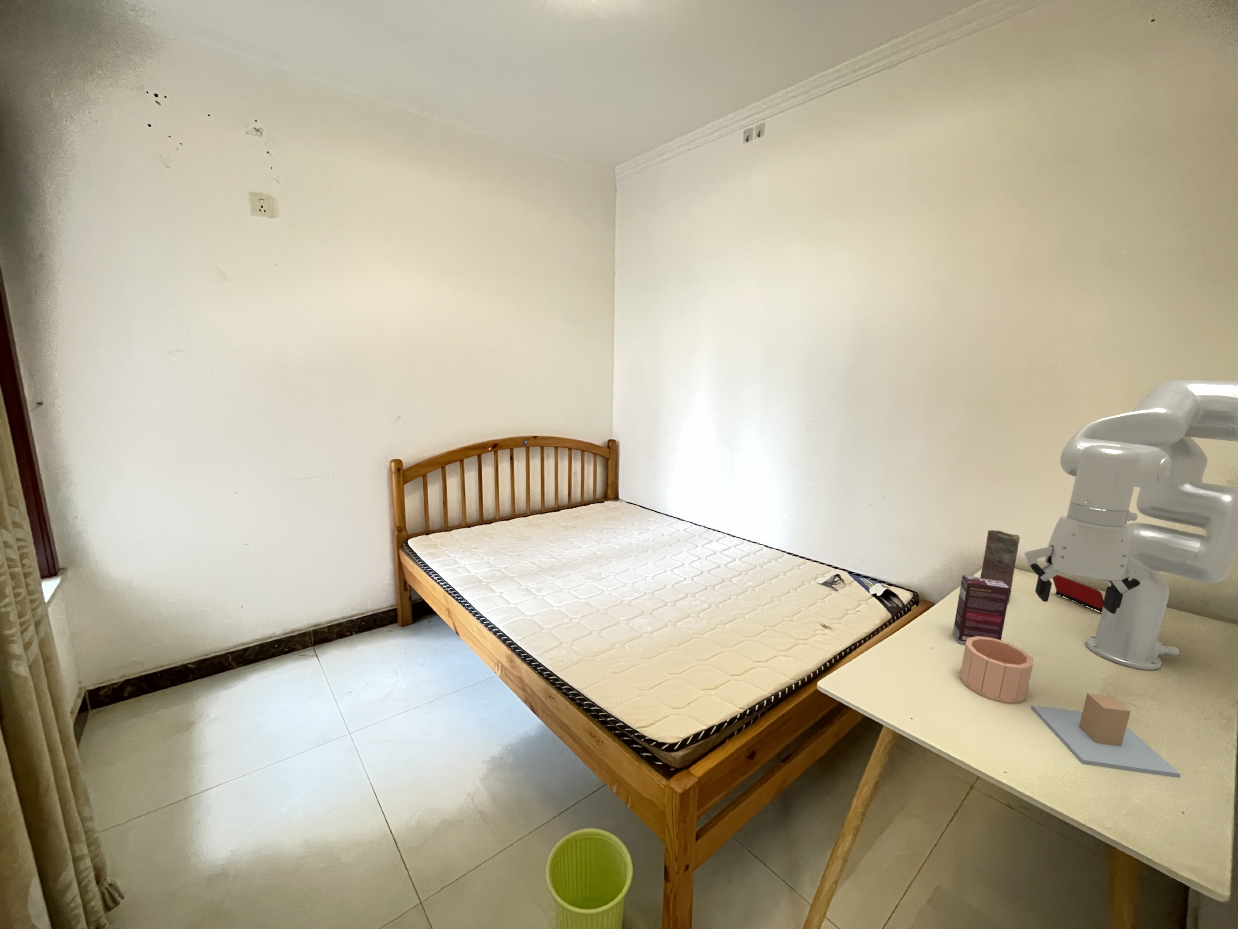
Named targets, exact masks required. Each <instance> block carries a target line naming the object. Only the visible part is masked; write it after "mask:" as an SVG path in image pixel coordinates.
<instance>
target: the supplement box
mask: <svg viewBox="0 0 1238 929" xmlns="http://www.w3.org/2000/svg"><path fill="white" fill-rule="evenodd" d="M961 576H962V578H961V583H960V588H959V595H958V600H957V606H956V612H955V616H954V618H955V619H954V623H953V630H952V636H953V638H955V640H956V642H957V643H958V644H960V645H964V646H965V645H966V641H967V639H968V638H971V637H976V636H980V637H989V638H994V639H998V640H1001V641H1002V636H1003V631H1004V628H1005V627H1004V626H1005V622H1006V621H1005V620H1006V614H1007V610H1008V604H1009V601H1008V599H1009V594H1010V587H1009V586H1008V585H1007V584H1006V583H1005V582H1004V581H1002V580H995V579H988V578H980V577H981V576H980V577H979V576H972V575H965V574H963V575H961ZM1010 595H1011V594H1010Z"/></svg>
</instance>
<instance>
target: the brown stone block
mask: <svg viewBox="0 0 1238 929" xmlns="http://www.w3.org/2000/svg"><path fill="white" fill-rule="evenodd" d="M1020 538H1021V537H1020V536H1019V534H1012V533H1008V532H1004V531H1002V530H993V529H990V530H987V537H986V543H985V550H984V555H983V560H982V561H983V562H982V566H981V571H980V572H981V573H980V578H988V579H995V580H1002V581H1004V582H1005V583H1006V584H1007V585H1008V586H1009V587H1010V594H1009V599H1008V602H1010V600H1011V599H1010V598H1011V593H1012V586H1013V580H1014V574H1015V568H1016V567H1015V566H1016V563H1017V562H1016V561H1017V555H1018V550H1019V545H1020Z"/></svg>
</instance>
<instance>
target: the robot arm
mask: <svg viewBox="0 0 1238 929" xmlns="http://www.w3.org/2000/svg"><path fill="white" fill-rule="evenodd" d="M1193 438H1197V439H1209V440H1216V441H1217V440H1218V441H1228V442H1237V443H1238V381H1236V380H1213V379H1212V380H1211V379H1210V380H1209V379H1181V378H1180V379H1172V380H1171V379H1170V380H1167V381H1163V382H1160V383H1158V384H1157V385H1155V386H1154V387H1153V388H1151V389H1150V390H1149V391H1148V392H1147V394H1146V395H1145V396H1143V398H1142V399H1141V400H1140V401H1139V403H1138V404H1137V405H1136V406H1135V407H1134V408H1133V409H1132V410H1131V411H1127V412H1126V411H1125V412H1122V413H1119V414H1115V415H1111V416H1108V417H1104V418H1101V419H1097V420H1095V421H1092V422H1089V423H1087V424H1085V425H1083V426H1082V427H1081V428H1080V429H1078V431H1076V433H1075V434H1074V435H1073V436H1072V437H1070V439H1069V441H1068V442H1067V443H1065V444H1066V445H1064V447H1063V449H1062V451H1061V455H1060V457H1059V462H1060V463H1059V464H1060V466H1061V468H1062V471H1064V472H1065V473H1066V474H1067V475H1069V476H1072V477H1074V482H1073V487H1072V490H1071V496H1070V501H1069V503H1068V504H1069V505H1068V508H1067V514H1066V516H1064V515H1062V516H1060V517H1059V519H1058V521H1057V522H1056V524H1055V526H1054V528H1053V531H1052V532H1051V536H1050V539H1049V542H1048V545H1047V546H1046V547H1042V548H1038V549H1033V550H1029V551H1026V552H1024V556H1025V559H1026V562H1027V564H1028V566H1029V567H1030V569H1031V570H1032V571H1033V572H1034V573H1035V574H1036V575H1037V581H1036V585H1035V588H1034V589H1035V590H1034V591H1035V594H1036V595H1037V596H1038V598H1039V599H1040V600H1041V602H1044V603H1045V602H1046V603H1047V602H1049V598H1050V594H1051V589H1052V585H1053V582H1052V581H1051V580H1052V579H1053V577H1054V576H1056V575H1059V574H1062V575H1067V576H1072V577H1080V578H1084V579H1085V578H1086V579H1093V580H1099V581H1105V582H1108V586H1107V587H1106V590H1105V593H1104V596H1103V600H1104V601H1103V610H1102V614H1101V613H1100V618H1099V623H1098V627H1097V631H1096V635H1095V634H1094V635H1089V636H1087V637H1086V638H1085V643H1084V644H1085V646H1086V647H1087V649H1089V650H1090V651H1091V652H1093V653H1094V654H1097V655H1098V656H1100V657H1102V658H1104V659H1105V660H1108V661H1110V662H1114V663H1115V664H1116V663H1117V664H1118V665H1119V664H1120V665H1122V666H1125V667H1129V668H1134V669H1139V670H1148V671H1149V670H1150V671H1151V670H1157V669H1159V668H1161V666H1162V660H1161V658H1160V657H1159V656H1162V655H1166V656H1167V655H1168V656H1178V655H1180V650H1179V648H1178V647H1177V646H1171V645H1163V642H1161V641H1158V637H1159V634H1160V630H1161V627H1162V623H1163V619H1164V616H1165V611H1166V609H1167V605H1168V601H1169V596H1170V588H1169V585H1168V583H1167V581H1166V580H1165V578H1164V576H1163V575H1162V573H1161V572H1163V573H1167V574H1170V575H1174V576H1179V577H1183V578H1187V579H1190V580H1195V581H1199V582H1204V583H1210V584H1214V583H1215V584H1216V583H1220V582H1221V581H1224V580H1225V579H1226V577H1227V576H1228V574H1230V571H1231V569H1232V567H1233V563H1234V560H1235V557H1236V555H1237V551H1238V488H1236V487H1232V486H1227V485H1220V484H1214V483H1207V482H1203V478H1204V474H1205V471H1206V468H1207V466H1208V463H1209V462H1208V461H1209V460H1208V457H1207V455H1206V453H1205V452H1204V450H1203V449H1202V447H1201V446H1200V445H1199V444H1198V442H1196V441H1195V440H1194V439H1193ZM1135 488H1139V491H1138V494H1137V498H1136V510H1137V511H1138V512H1139V513H1140V514H1141V515H1143V516H1144V517H1145V516H1146V517H1148V518H1152V519H1155V520H1160V521H1164V522H1169V523H1174V524H1179V525H1185V526H1190V527H1195V528H1199V529H1201V530H1203V531H1205V533H1206V535H1204V534H1200V533H1199V534H1198V533H1193V532H1189V531H1184V530H1179V529H1177V528H1171V527H1166V526H1162V525H1156V524H1153V523H1152V524H1151V523H1146V522H1143V523H1142V522H1136V521H1137V519H1138V514H1137V513H1134V512H1131V511H1130V510H1129V509H1130V505H1131V502H1132V497H1133V493H1134V489H1135ZM1130 521H1132V522H1130ZM1128 522H1129V523H1128ZM1041 558H1044V562H1045V565H1043V566H1040V565H1039V563H1038V560H1039V559H1041Z"/></svg>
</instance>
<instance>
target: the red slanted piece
mask: <svg viewBox="0 0 1238 929" xmlns="http://www.w3.org/2000/svg"><path fill="white" fill-rule="evenodd" d="M1052 581H1053V583H1054V587H1055V588H1054V589H1055V590H1056V591H1055V595H1056V594H1057V595H1056V596H1058V595H1060V596H1064V597H1066V598H1068V599H1070V600H1073V601H1076V602H1078V603H1077V604H1079V603H1080V604H1079V605H1081V604H1083V605H1085V606H1088V607H1090V608H1093V609H1096V610H1098V611H1100V612H1102V610H1103V601H1104V596H1103V594H1102V592H1101V591H1100V590H1098V589H1096V588H1093V587H1091V586H1089V585H1086V584H1082V583H1080V582H1078V581H1075V580H1073V579H1069V578H1067V577H1064V576H1061V575H1059V574H1058V575H1056V576H1054V577H1053V578H1052ZM1060 596H1059V597H1060ZM1068 599H1067V600H1068ZM1070 600H1069V601H1070ZM1076 602H1075V603H1076ZM1083 605H1082V606H1083ZM1085 606H1084V607H1085Z"/></svg>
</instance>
